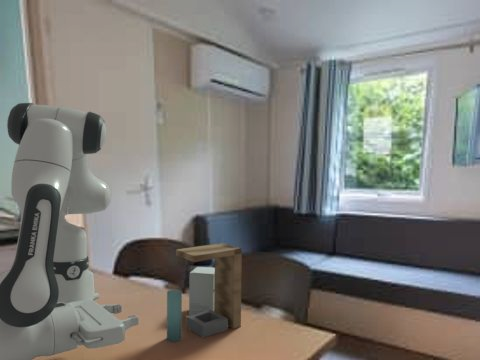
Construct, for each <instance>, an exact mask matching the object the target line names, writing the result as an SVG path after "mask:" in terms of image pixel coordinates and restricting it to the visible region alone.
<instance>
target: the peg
mask: <svg viewBox="0 0 480 360" xmlns="http://www.w3.org/2000/svg"><path fill="white" fill-rule="evenodd" d="M182 293H183V292H182V290H181V289H170V290H167V292H166V341H168V342H169V343H177V342H180V341H181V340H182V320H183V319H182V310H183V309H182V304H183V303H182V301H183V299H182Z"/></svg>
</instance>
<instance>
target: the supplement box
mask: <svg viewBox="0 0 480 360" xmlns="http://www.w3.org/2000/svg"><path fill="white" fill-rule="evenodd" d="M188 281H189V283H188V284H189V286H188V288H189V290H188V295H189V296H188V297H189V298H188V300H189V301H188V316H190V315H193V314H197V313H201V312H204V311H208V310H213V311H214V296H215V267H213V266H212V267H207V266H206V267H205V266H195V268H194V269H192V270H191V271H190V272H189V280H188Z"/></svg>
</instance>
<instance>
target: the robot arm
mask: <svg viewBox="0 0 480 360" xmlns="http://www.w3.org/2000/svg"><path fill="white" fill-rule="evenodd" d="M105 123H106V122H105V120H104V119H103V117H102V116H101V115H100V114H97V113H95V112H92V111H88V112H87V111H84V110H81V109H76V108H73V107H69V106H63V105H61V106H58V105H57V106H56V105H49V104H35V103H33V102H21V103H17V104H16V105H14V106H13V107H12V108H11V109H10V111H9V114H8V117H7V120H6V128H7V134H8V137H9V138H10V139H11V140H12V142H13V143H14V144H17V145H19V146H18V148H17V150H16V155H15V157H14V161H13V167H12V172H11V182H10V183H11V185H10V186H11V187H10V189H11V191H10V192H11V196H12V198H13V200H14V201H15V202H16V204H17V205H18V208H19V212H20V226H19V231H18V238H17V243H16V249H15V250H16V251H15V254H14V260H13V263H12V266H11V268H10V269H9V270H7V271H5V272H3V273H1V274H0V360H33V359H36V358H39V357H50V356H54V355H59V354H61V353H64V352H65V353H66V352H69V351H73V350H75V349H77V348H78V346H84V347H85V348H87V349H97V348H98V349H99V348H105V347H109V346H113V345H118V344H120V343H122V342H123V341H125V338H126V331H127V330H129V329H131V327H135V326H138V325H139V317H138V316H137V315H135V314H134V315H129V316H128V317H127V318H126V319H119V318H118V317H116V316H115V315H116V314H121V313H122V310H123V309H122V305H121V304H119V303H115V304H99V303H98V302H97V301H96V299H97V298H99V297H100V294H99V293H98V292H96V291H95V286H94V285H95V283H94V282H95V281H94V273H93V272H92V271H91V270H90V269H89V267H90V266H89V262H90V260H89V256H88V235H87V232H86V231H85V230H84V228H82V227H80V226H79V225H75V224H73V223H71V222H69V221H67V219H66V217H65V216H67V215H82V214H83V215H84V214H87V215H88V214H93V213H98V212H102V211H105V210H107V208H108V207H109V205H110V203H111V201H112V191H111V188H110V187H109V185H108V184H107V182H106V181H104V180H102V179H99V178H98V177H97V176H96V175H94V174H93V172H92V171H91V169H90V167H89V158H88V157H89V155H93V154H97V153H99V152H100V151H101V150H102V147H103V146H104V144H105V143H106V139H107V133H108V132H107V127H106V124H105Z"/></svg>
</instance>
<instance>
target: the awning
mask: <svg viewBox="0 0 480 360" xmlns="http://www.w3.org/2000/svg"><path fill="white" fill-rule="evenodd" d="M242 249H243V248H241V247H239V246H234V245H231V244H227V243H225V242H217V243H211V244H205V245H198V246H192V247H184V248H177V249H176V251H175V255H176V256H177V257H180V258H182V259H184V260H188V261H191V262H193V263H196V262H203V261H207V260H208V261H209V260H213V259H214V268H215V296H214V311H215V312H217V313H218V314H220V315H222V316H224V317H226V318H228V328H229V327H230V328H231V329H233V330H234V329H237V328H241V326H242V262H243V261H242V257H243V256H242V253H243V252H242Z"/></svg>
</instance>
